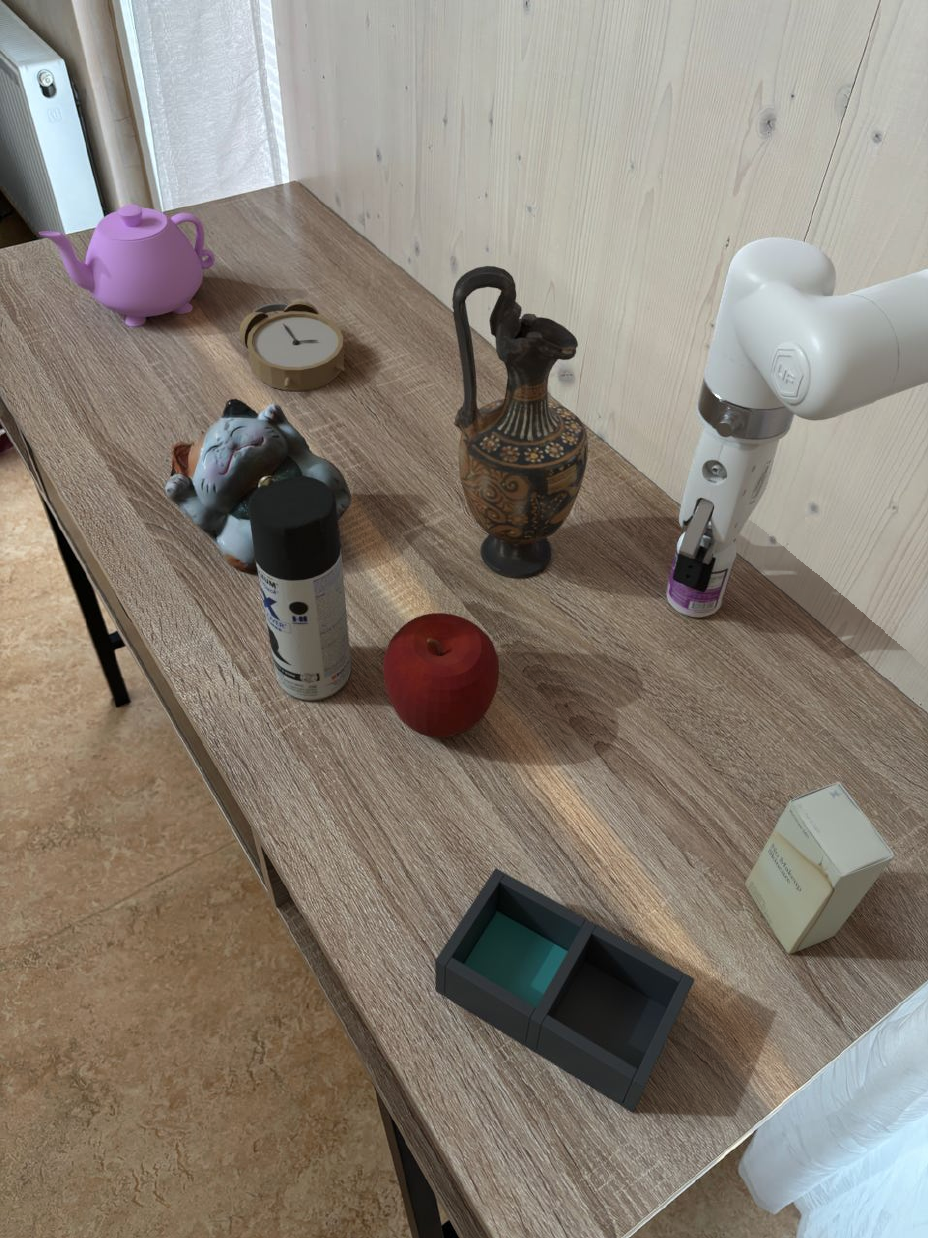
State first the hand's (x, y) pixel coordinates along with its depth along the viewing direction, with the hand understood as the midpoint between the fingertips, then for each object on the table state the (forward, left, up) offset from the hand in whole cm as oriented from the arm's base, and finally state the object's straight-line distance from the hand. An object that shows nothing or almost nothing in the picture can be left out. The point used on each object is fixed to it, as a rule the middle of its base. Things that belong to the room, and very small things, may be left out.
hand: (702, 562), depth 93 cm
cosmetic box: (-19, +26, -5) cm, 32 cm away
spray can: (+25, +27, -5) cm, 37 cm away
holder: (-7, +41, -5) cm, 42 cm away
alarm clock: (+57, -11, -5) cm, 58 cm away
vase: (+18, +4, -5) cm, 19 cm away
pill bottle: (0, 0, -5) cm, 5 cm away
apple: (+13, +25, -5) cm, 28 cm away
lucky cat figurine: (+40, +15, -5) cm, 43 cm away
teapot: (+80, -10, -5) cm, 81 cm away
